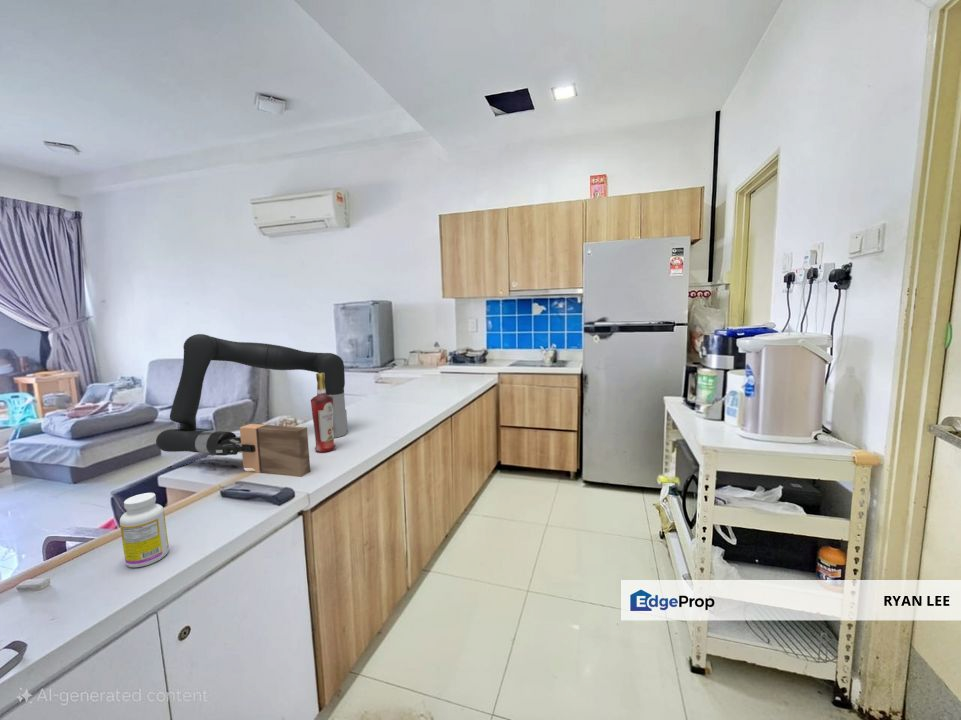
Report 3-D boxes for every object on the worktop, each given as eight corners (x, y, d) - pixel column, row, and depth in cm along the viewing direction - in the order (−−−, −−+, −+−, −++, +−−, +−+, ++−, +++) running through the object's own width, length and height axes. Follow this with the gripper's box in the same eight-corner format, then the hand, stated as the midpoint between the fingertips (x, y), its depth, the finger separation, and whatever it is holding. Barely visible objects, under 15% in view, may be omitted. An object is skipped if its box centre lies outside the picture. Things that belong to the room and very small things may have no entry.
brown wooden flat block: (271, 468, 122) (267, 424, 121) (310, 472, 119) (307, 427, 117) (260, 473, 118) (256, 428, 117) (301, 477, 115) (297, 431, 113)
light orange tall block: (254, 466, 124) (250, 423, 122) (269, 467, 122) (266, 424, 121) (243, 471, 120) (239, 427, 118) (259, 472, 119) (255, 428, 117)
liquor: (327, 445, 143) (322, 371, 140) (340, 449, 139) (335, 372, 136) (309, 452, 137) (304, 374, 133) (323, 455, 133) (317, 375, 130)
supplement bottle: (143, 549, 80) (135, 491, 79) (177, 547, 81) (170, 489, 79) (116, 570, 74) (107, 507, 72) (152, 568, 74) (144, 505, 73)
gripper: (193, 438, 117) (240, 441, 112) (234, 425, 130) (276, 427, 126) (196, 462, 118) (242, 466, 113) (236, 446, 131) (278, 449, 127)
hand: (260, 446), depth 120 cm, fingers closed on light orange tall block, 4 cm apart
